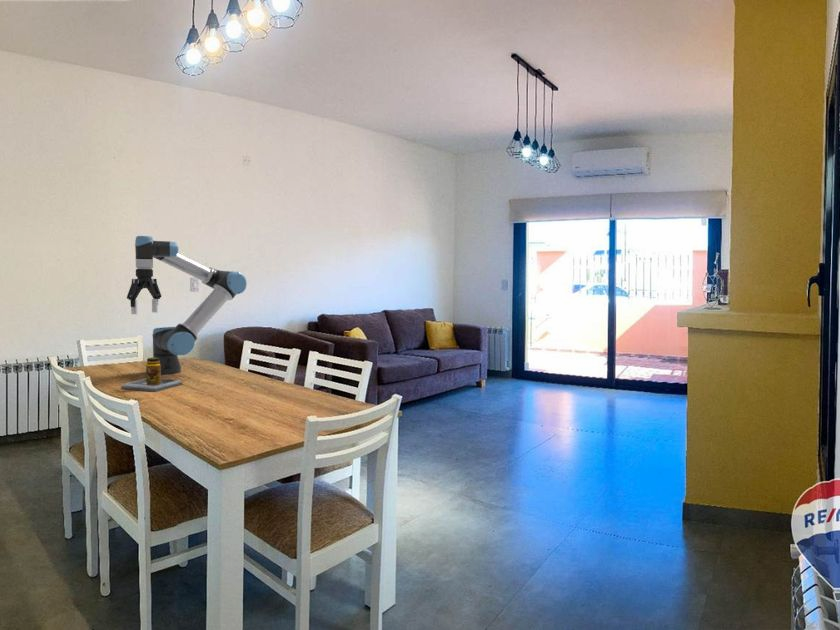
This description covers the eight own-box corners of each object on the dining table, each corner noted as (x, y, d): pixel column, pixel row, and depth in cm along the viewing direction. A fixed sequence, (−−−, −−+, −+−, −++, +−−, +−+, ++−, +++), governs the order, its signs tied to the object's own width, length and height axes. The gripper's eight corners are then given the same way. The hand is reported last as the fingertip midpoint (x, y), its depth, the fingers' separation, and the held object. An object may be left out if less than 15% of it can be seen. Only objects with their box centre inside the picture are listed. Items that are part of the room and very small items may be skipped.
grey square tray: (150, 381, 286) (150, 377, 286) (182, 384, 281) (182, 379, 281) (121, 388, 269) (121, 383, 269) (155, 391, 264) (154, 386, 264)
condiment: (148, 386, 270) (148, 359, 269) (141, 383, 276) (141, 357, 275) (165, 384, 275) (164, 358, 274) (157, 381, 281) (157, 356, 280)
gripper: (156, 268, 302) (156, 311, 304) (117, 268, 278) (118, 314, 280) (168, 269, 300) (169, 311, 301) (131, 268, 276) (131, 315, 278)
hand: (144, 313), depth 291 cm, fingers open, 13 cm apart
